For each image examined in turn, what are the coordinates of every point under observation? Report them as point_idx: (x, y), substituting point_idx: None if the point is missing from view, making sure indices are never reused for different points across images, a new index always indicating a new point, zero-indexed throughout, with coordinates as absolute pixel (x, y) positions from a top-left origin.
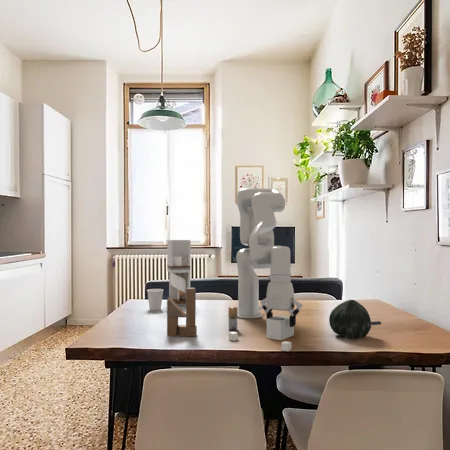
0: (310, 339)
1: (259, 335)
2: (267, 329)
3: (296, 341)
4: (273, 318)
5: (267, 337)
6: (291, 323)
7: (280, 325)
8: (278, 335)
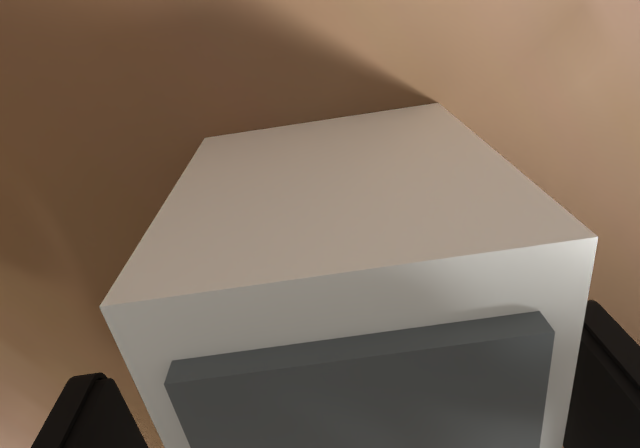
0: (32, 389)
1: (589, 127)
2: (462, 141)
3: (36, 234)
4: (408, 349)
5: (426, 107)
6: (55, 438)
7: (146, 241)
8: (231, 152)
